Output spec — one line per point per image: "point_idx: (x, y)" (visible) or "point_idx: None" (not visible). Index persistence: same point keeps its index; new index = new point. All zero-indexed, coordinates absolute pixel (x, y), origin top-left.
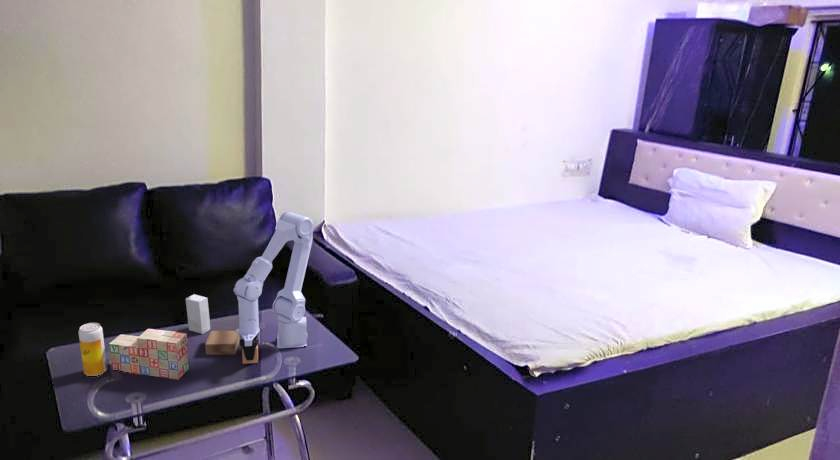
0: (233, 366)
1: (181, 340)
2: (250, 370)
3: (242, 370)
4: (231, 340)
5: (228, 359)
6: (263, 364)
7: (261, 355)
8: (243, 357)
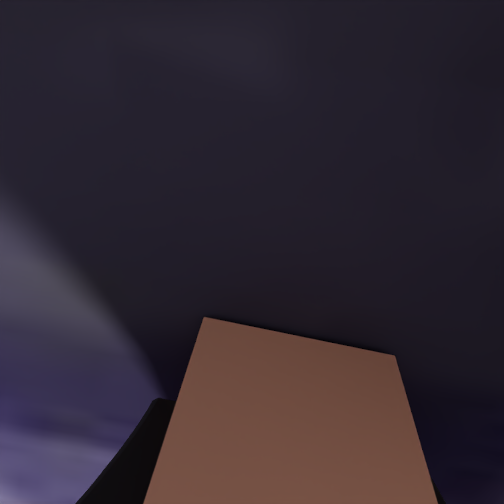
0: (173, 198)
1: None
2: (44, 359)
3: (51, 286)
4: None
5: (415, 155)
6: None
7: None
8: (178, 397)
